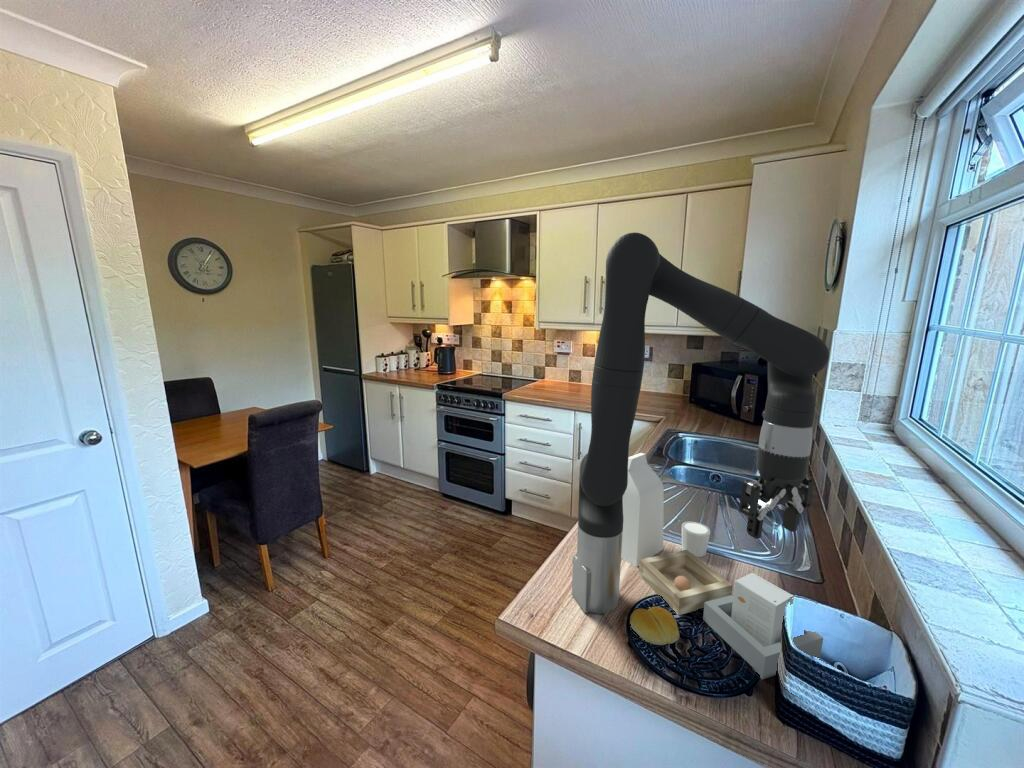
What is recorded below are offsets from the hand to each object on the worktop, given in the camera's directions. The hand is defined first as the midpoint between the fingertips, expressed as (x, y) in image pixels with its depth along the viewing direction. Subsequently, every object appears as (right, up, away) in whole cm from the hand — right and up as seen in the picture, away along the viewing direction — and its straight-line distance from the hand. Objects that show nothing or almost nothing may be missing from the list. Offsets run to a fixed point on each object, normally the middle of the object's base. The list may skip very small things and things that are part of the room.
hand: (771, 532), depth 73 cm
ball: (-9, -19, +16) cm, 27 cm away
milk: (-16, -17, +33) cm, 40 cm away
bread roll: (-19, -22, +6) cm, 30 cm away
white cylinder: (0, -17, +32) cm, 36 cm away
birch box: (-9, -19, +18) cm, 28 cm away
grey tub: (0, -22, +4) cm, 22 cm away
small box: (0, -22, +4) cm, 22 cm away
